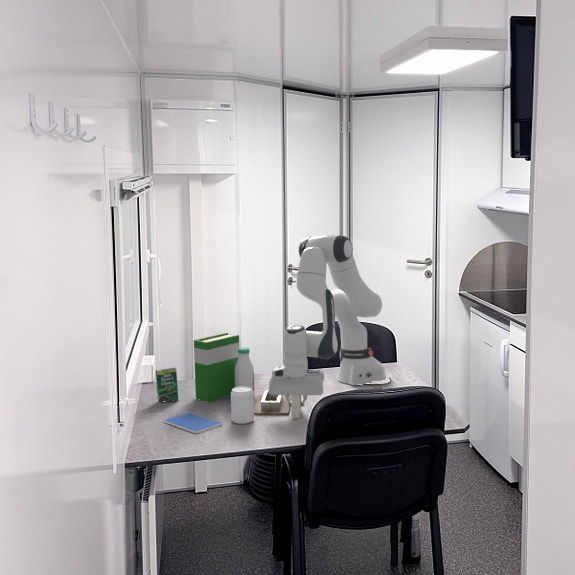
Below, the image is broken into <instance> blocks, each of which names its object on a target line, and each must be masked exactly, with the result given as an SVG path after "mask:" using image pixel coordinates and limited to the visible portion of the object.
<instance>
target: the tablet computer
mask: <svg viewBox="0 0 575 575" xmlns="http://www.w3.org/2000/svg"><path fill="white" fill-rule="evenodd" d="M162 422H166V423H168V424H167V425H169V424H171V425H170V426H172V425H173V427H175V426H176V427H175V428H179V429H181V430H185V431H187V432H190V433H192V434H197V433H198V434H200V433H204V432H207V431H210V430H213V429H216V428H219V427H221V426H222V425H223V423H222V422H220V421H216V420H213V419H209V418H207V417H203V416H200V415H198V414H196V413H192V412H186V413H183V414H180V415H177V416H173V417H170V418H167V419H163V421H162ZM166 423H165V424H166ZM198 434H197V435H198Z"/></svg>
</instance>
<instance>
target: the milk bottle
mask: <svg viewBox="0 0 575 575" xmlns="http://www.w3.org/2000/svg"><path fill="white" fill-rule="evenodd" d="M250 352H251V351H250V348H249V347H245V346H244V347H240V348H238V354H239V357H238V360H237V363H236V365H235V387H240V386H246V387H250V388H252V391H253V398H254V397H255V371H254V364H253V362H252V360H251V358H250Z"/></svg>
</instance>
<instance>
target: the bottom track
mask: <svg viewBox="0 0 575 575" xmlns="http://www.w3.org/2000/svg"><path fill="white" fill-rule="evenodd" d="M262 395H263V397H262V400H261V410H280V407H281V403H282V399H283V395H270V393H269V390H264V393H263V394H262ZM268 399H277V401H267V400H268Z"/></svg>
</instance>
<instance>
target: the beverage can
mask: <svg viewBox="0 0 575 575" xmlns="http://www.w3.org/2000/svg"><path fill="white" fill-rule="evenodd" d="M254 403H255V399H254V397H253V391H252V388H250V387H246V386H240V387H235V388H233V389H232V392H231V395H230V407H231V408H230V411H231V422H232V423H235V424H237V425H246V423H247V424H250V423H251V422H253V421H254V420H255V415H254ZM249 422H250V423H249Z"/></svg>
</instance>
